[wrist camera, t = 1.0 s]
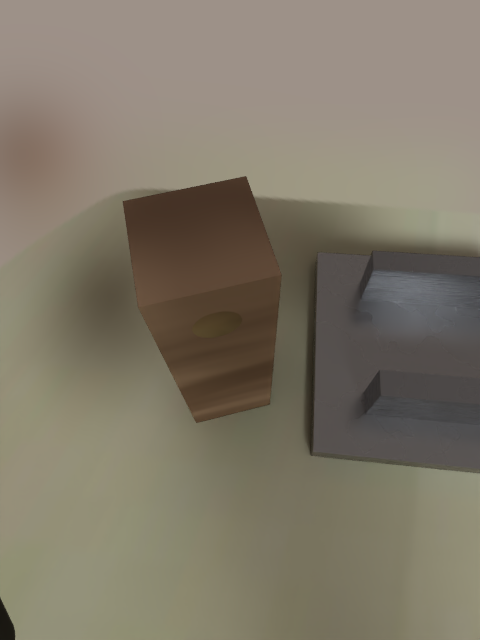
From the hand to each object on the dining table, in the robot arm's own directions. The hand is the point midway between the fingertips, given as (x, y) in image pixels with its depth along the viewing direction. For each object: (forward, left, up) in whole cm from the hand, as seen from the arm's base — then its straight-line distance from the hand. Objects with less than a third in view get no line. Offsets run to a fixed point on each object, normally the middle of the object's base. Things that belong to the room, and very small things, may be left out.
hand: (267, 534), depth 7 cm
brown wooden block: (+7, -5, -13) cm, 16 cm away
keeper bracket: (-1, -14, -13) cm, 19 cm away
